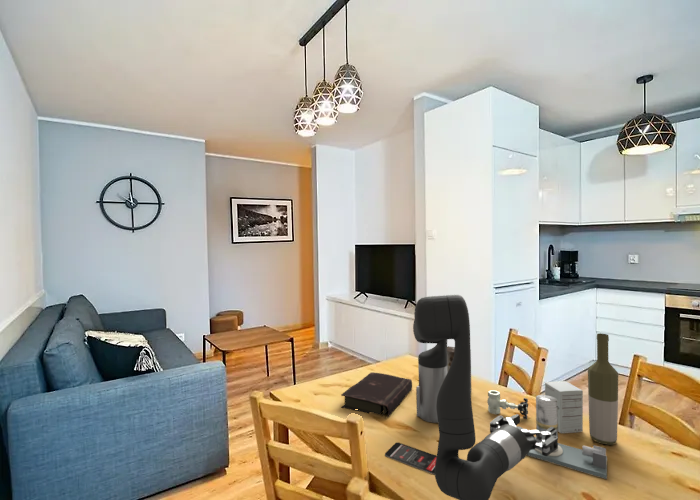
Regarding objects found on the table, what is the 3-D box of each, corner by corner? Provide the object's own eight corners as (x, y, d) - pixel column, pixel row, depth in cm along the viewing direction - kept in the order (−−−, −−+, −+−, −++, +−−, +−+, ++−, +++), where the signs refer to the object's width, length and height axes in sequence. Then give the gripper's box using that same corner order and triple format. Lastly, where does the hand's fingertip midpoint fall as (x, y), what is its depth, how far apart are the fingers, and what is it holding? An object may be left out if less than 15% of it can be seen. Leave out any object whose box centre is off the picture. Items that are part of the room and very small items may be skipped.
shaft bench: (492, 444, 100) (492, 429, 100) (500, 430, 108) (499, 416, 107) (606, 479, 85) (606, 461, 85) (607, 460, 92) (606, 443, 92)
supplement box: (544, 421, 112) (543, 381, 112) (566, 420, 113) (566, 380, 113) (560, 434, 105) (559, 391, 105) (583, 432, 106) (583, 389, 106)
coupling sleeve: (534, 448, 96) (534, 400, 95) (538, 440, 100) (537, 393, 100) (556, 454, 93) (556, 404, 92) (559, 445, 97) (558, 397, 97)
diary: (412, 391, 139) (412, 378, 139) (389, 420, 117) (389, 405, 116) (368, 382, 147) (368, 370, 147) (339, 408, 125) (338, 393, 125)
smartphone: (437, 474, 87) (383, 454, 96) (437, 477, 88) (383, 457, 96) (447, 459, 93) (396, 441, 102) (448, 462, 93) (396, 444, 102)
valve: (485, 414, 118) (526, 423, 112) (485, 394, 118) (526, 402, 112) (489, 406, 124) (528, 414, 117) (489, 387, 123) (528, 394, 117)
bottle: (609, 450, 97) (609, 339, 96) (582, 437, 103) (582, 333, 102) (624, 443, 100) (623, 335, 99) (597, 431, 106) (596, 330, 105)
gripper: (536, 444, 76) (566, 419, 86) (475, 420, 87) (507, 400, 97) (536, 480, 76) (566, 450, 86) (475, 450, 87) (508, 428, 97)
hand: (535, 424), depth 92 cm, fingers open, 8 cm apart
